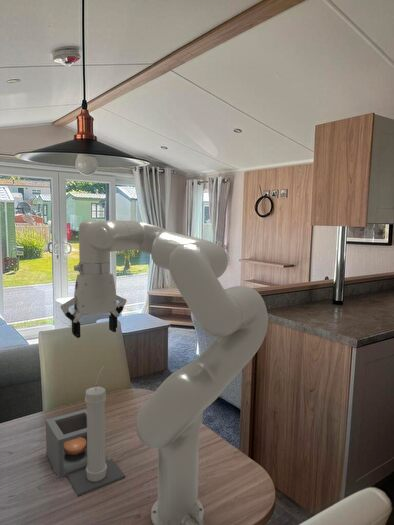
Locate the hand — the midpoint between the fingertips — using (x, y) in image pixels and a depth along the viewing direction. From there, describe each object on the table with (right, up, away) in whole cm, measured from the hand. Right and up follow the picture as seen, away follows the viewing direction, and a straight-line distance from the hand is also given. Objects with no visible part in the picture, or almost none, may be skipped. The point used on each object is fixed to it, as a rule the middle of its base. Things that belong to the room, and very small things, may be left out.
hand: (95, 333), depth 100 cm
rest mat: (-1, -40, +4) cm, 40 cm away
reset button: (-9, -37, +12) cm, 40 cm away
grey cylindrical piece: (0, -40, +4) cm, 40 cm away
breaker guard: (-9, -39, +12) cm, 42 cm away
